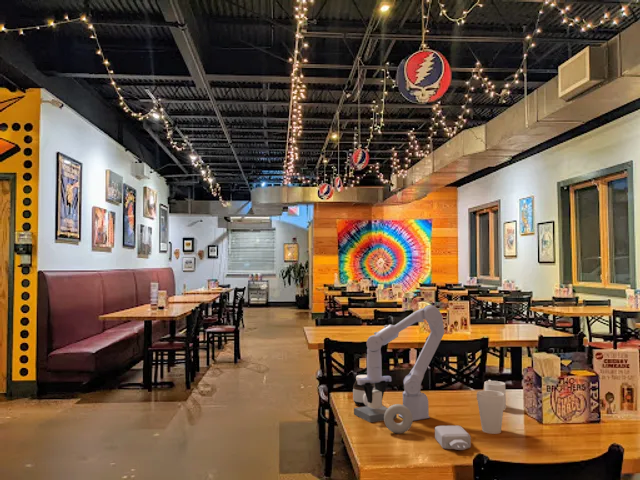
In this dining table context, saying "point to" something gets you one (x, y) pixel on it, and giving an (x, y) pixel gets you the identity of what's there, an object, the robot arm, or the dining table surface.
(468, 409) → the dining table surface
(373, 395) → the block
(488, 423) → the foam cup
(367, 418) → the tile
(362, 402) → the spread jar
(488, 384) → the cup
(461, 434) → the charger
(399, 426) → the donut
